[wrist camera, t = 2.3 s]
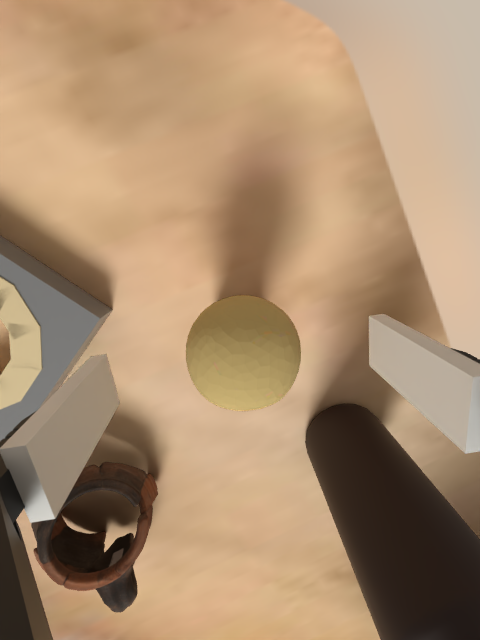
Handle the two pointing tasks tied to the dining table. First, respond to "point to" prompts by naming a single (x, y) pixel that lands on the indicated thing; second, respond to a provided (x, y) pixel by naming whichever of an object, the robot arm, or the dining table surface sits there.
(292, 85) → the dining table surface
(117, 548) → the pottery mug
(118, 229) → the dining table surface
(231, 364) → the light bulb
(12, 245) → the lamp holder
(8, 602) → the robot arm
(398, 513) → the bottle
